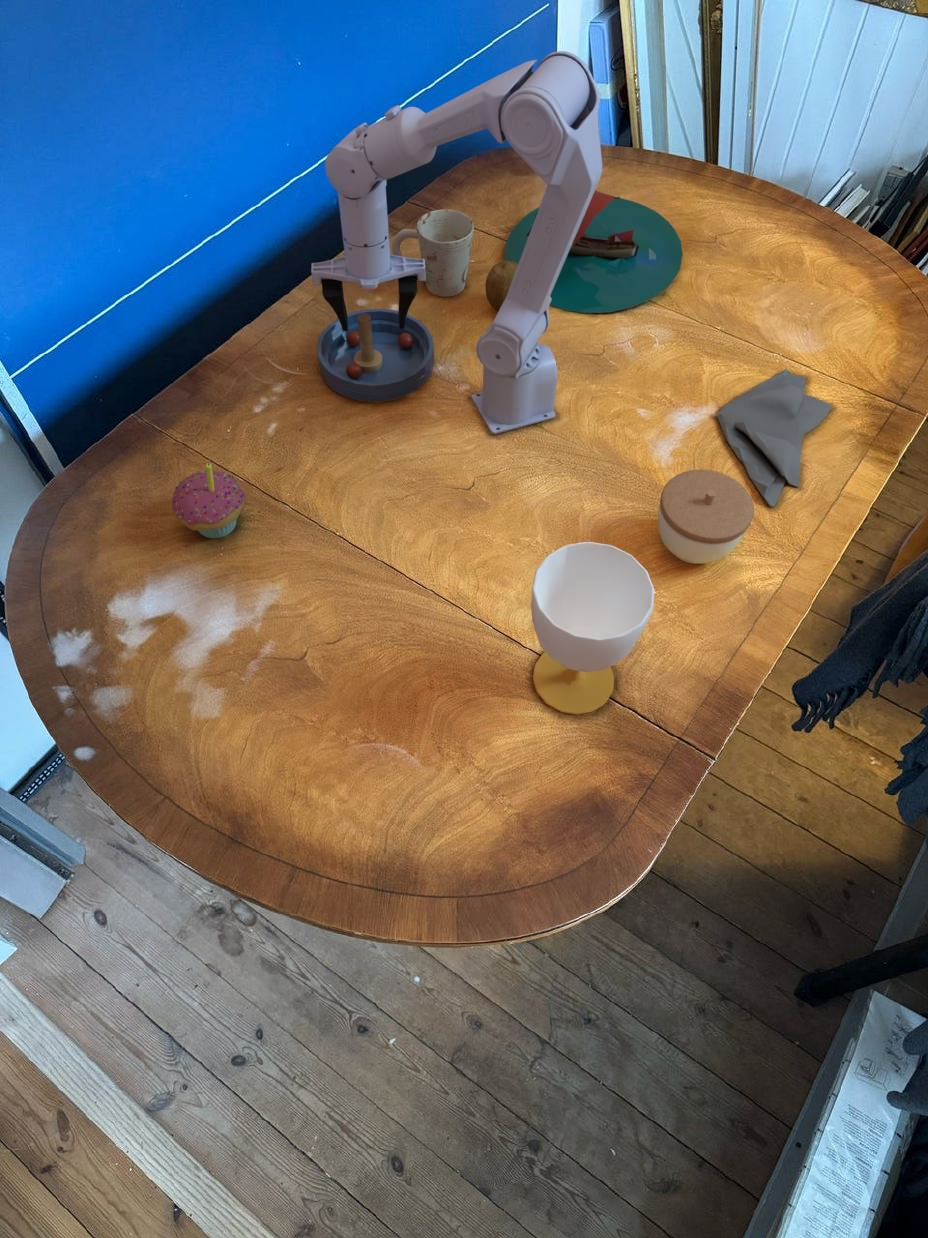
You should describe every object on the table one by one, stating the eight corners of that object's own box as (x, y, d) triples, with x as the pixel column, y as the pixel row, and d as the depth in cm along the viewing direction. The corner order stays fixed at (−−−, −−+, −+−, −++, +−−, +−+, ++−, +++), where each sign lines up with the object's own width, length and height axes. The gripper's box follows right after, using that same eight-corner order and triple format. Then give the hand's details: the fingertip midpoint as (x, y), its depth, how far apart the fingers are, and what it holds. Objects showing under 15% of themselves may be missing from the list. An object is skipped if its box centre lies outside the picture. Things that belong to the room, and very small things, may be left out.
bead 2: (359, 357, 124) (355, 366, 122) (366, 371, 125) (362, 379, 124) (345, 361, 125) (341, 370, 123) (352, 375, 126) (348, 383, 125)
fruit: (533, 313, 134) (538, 266, 128) (500, 328, 132) (502, 281, 126) (509, 292, 137) (512, 245, 130) (476, 306, 135) (477, 259, 128)
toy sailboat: (514, 201, 151) (513, 137, 141) (682, 207, 148) (693, 142, 138) (494, 315, 137) (492, 254, 128) (679, 325, 134) (692, 262, 124)
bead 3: (400, 353, 128) (409, 350, 130) (409, 344, 127) (418, 341, 128) (392, 340, 128) (401, 337, 130) (401, 330, 126) (410, 328, 128)
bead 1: (365, 332, 128) (355, 328, 129) (354, 334, 126) (344, 329, 127) (364, 347, 129) (354, 343, 130) (352, 349, 127) (342, 344, 129)
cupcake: (262, 508, 112) (244, 439, 102) (231, 559, 108) (208, 492, 98) (201, 491, 114) (177, 421, 104) (168, 540, 109) (139, 472, 99)
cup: (549, 741, 95) (567, 658, 80) (503, 654, 100) (511, 562, 86) (645, 703, 97) (678, 615, 83) (594, 621, 103) (617, 526, 89)
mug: (466, 305, 135) (467, 245, 127) (386, 294, 137) (382, 234, 128) (477, 272, 140) (478, 212, 131) (399, 262, 141) (396, 202, 133)
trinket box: (633, 527, 111) (646, 475, 103) (705, 501, 114) (724, 448, 106) (678, 590, 106) (696, 541, 98) (754, 562, 108) (777, 511, 101)
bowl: (411, 318, 133) (410, 298, 130) (450, 387, 125) (450, 368, 122) (306, 343, 130) (303, 323, 127) (339, 416, 122) (336, 396, 119)
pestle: (382, 354, 128) (378, 307, 121) (382, 373, 126) (379, 326, 119) (354, 355, 128) (349, 308, 121) (354, 374, 126) (349, 327, 119)
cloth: (749, 358, 129) (754, 346, 127) (843, 391, 125) (849, 378, 124) (684, 474, 116) (687, 461, 114) (785, 514, 113) (791, 502, 111)
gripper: (306, 255, 108) (319, 346, 119) (425, 250, 109) (428, 341, 120) (307, 221, 112) (320, 312, 123) (422, 217, 112) (425, 308, 124)
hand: (373, 325), depth 122 cm, fingers open, 7 cm apart
